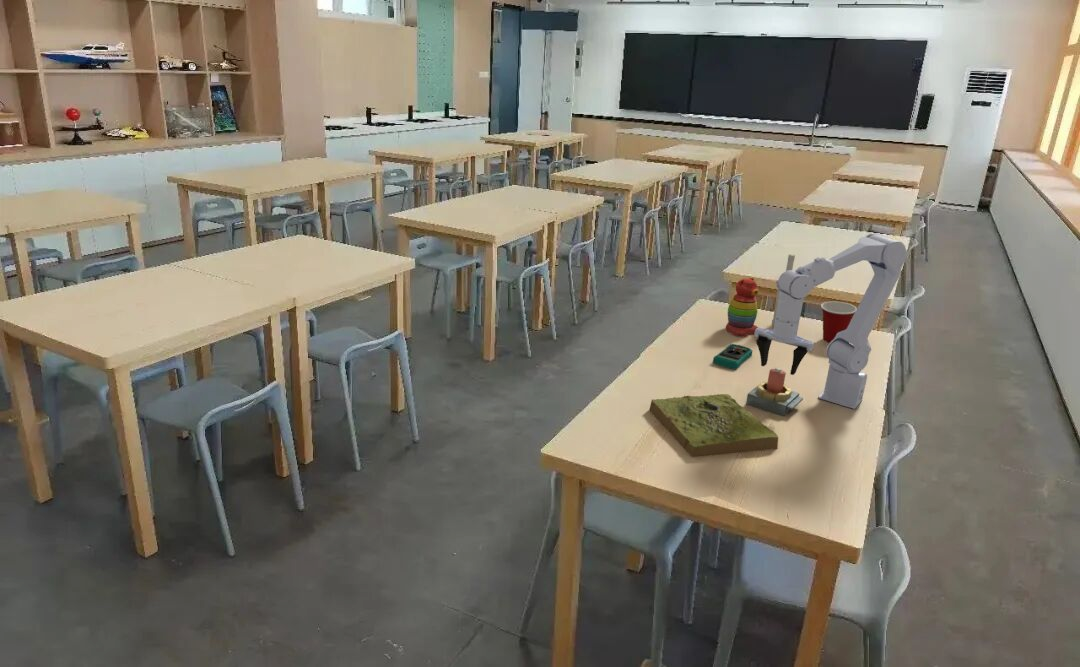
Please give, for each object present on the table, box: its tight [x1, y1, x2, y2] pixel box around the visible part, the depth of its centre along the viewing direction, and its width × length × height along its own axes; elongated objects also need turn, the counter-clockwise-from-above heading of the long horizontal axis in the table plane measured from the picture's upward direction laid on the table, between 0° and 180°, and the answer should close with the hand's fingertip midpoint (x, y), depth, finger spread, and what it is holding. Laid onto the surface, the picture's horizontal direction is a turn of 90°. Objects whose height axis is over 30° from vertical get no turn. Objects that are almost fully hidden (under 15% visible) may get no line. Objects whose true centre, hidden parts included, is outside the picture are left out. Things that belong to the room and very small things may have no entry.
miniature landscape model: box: [648, 393, 779, 458], centre depth 174 cm, size 22×24×5 cm
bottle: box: [771, 253, 796, 327], centre depth 243 cm, size 5×5×25 cm
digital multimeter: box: [712, 343, 754, 371], centre depth 217 cm, size 7×15×3 cm, turn 146°
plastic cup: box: [820, 300, 858, 344], centre depth 235 cm, size 11×11×12 cm
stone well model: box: [745, 381, 804, 417], centre depth 188 cm, size 11×10×4 cm
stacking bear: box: [725, 277, 760, 338], centre depth 239 cm, size 11×10×18 cm
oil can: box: [766, 367, 787, 393], centre depth 187 cm, size 4×4×7 cm
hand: (778, 369), depth 186 cm, fingers open, 7 cm apart
